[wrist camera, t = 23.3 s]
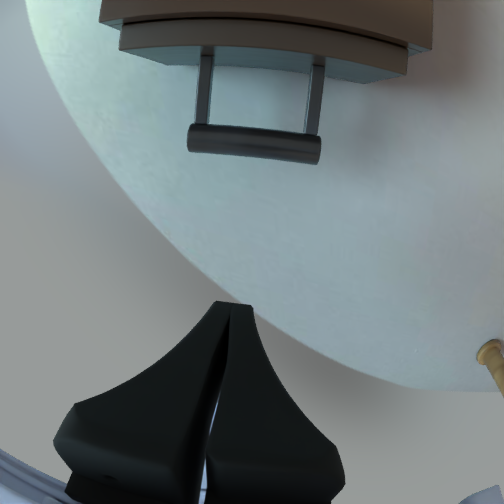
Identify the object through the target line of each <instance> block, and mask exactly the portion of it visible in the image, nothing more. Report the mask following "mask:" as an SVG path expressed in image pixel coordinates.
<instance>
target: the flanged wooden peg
mask: <svg viewBox="0 0 504 504" xmlns="http://www.w3.org/2000/svg"><path fill="white" fill-rule="evenodd" d="M500 351H501V344H500V343H499V341H498V340H491V341H489V342H487V343H486V344H485V345H483V346H482V347H481V349H480V350H479V352H478V354H477V360H478V362H479V364H481V365H486V366H487V368H488V370H489V372H490V373H491V375H492V377H493V379H494V380H495V382H496V384H497V386H498V388H499V389H500V391H501V393H502V395H503V397H504V357H503V356H502V354H501V353H500Z"/></svg>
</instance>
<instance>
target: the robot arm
mask: <svg viewBox="0 0 504 504" xmlns="http://www.w3.org/2000/svg"><path fill="white" fill-rule="evenodd" d="M219 394H220V395H219ZM218 398H219V400H218ZM217 402H218V403H217ZM53 443H54V447H55V449H56V451H57V452H58V454H59V455H60V457H61V458H62V459H63V460H64V461H65V463H66V464H67V465H68V467H69V468H70V469H71V470H72V471H73V472H72V474H71V476H70V479H69V481H68V483H67V484H66V483H64V482H61V481H60V480H57V479H55V478H53V477H51V476H49V475H47V474H45V473H43V472H41V471H39V470H36V469H35V468H33V467H31V466H29V465H27V464H25V463H24V462H22V461H20V460H18V459H16V458H15V457H13V456H11V455H9V454H8V453H6V452H4V451H3V450H1V449H0V504H331V500H332V499H333V498H334V497H335V496H336V495H337V494H338V493H339V492H340V491H341V490H342V489H343V487H344V485H345V474H344V469H343V466H342V462H341V459H340V455H339V453H338V450H337V448H336V446H335V445H334V444H333V443H332V442H331V441H329V440H328V439H327V438H326V437H325V436H324V435H323V434H322V433H321V432H320V431H319V430H318V429H317V428H316V427H315V426H314V425H313V423H312V422H311V421H310V420H309V419H308V418H307V417H306V416H305V415H304V413H303V412H302V411H301V410H300V408H299V407H298V406H297V405H296V403H295V402H294V401H293V399H292V398H291V397H290V395H289V394H288V392H287V391H286V389H285V388H284V386H283V385H282V383H281V381H280V380H279V378H278V376H277V375H276V373H275V371H274V369H273V367H272V365H271V363H270V361H269V359H268V357H267V355H266V353H265V350H264V348H263V345H262V342H261V340H260V337H259V334H258V331H257V327H256V323H255V319H254V312H253V307H252V306H251V305H246V304H238V303H229V302H221V301H216V302H214V303H213V304H212V306H211V307H210V309H209V310H208V311H207V312H206V314H205V315H204V316H203V318H202V319H201V320H200V321H199V322H198V323H197V325H196V326H195V327H194V328H193V329H192V330H191V331H190V332H189V333H188V334H187V335H186V337H184V338H183V339H182V340H181V341H180V342H179V343H178V344H177V345H176V346H175V347H174V348H173V349H172V350H170V351H169V352H168V353H167V354H166V355H165V356H164V357H162V358H161V359H160V360H158V361H157V362H156V363H155V364H153V365H152V366H150V367H149V368H147V369H146V370H144V371H143V372H141V373H140V374H138V375H137V376H135V377H133V378H132V379H130V380H128V381H126V382H125V383H122V384H121V385H119V386H117V387H115V388H113V389H111V390H109V391H107V392H105V393H102V394H100V395H97V396H95V397H92V398H89V399H87V400H84V401H81V402H78V403H75V404H74V406H73V407H72V408H71V410H70V411H69V412H68V414H67V416H66V417H65V419H64V420H63V422H62V424H61V426H60V428H59V430H58V432H57V434H56V436H55V438H54V440H53ZM459 504H504V500H503V497H502V494H501V491H500V487H499V485H495V486H493V487H490V488H487V489H485V490H482V491H479V492H477V493H474V494H472V495H471V496H468V497H467V498H466V499H464V500H462V501H461V502H460V503H459Z"/></svg>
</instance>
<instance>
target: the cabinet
mask: <svg viewBox="0 0 504 504" xmlns="http://www.w3.org/2000/svg"><path fill="white" fill-rule="evenodd" d="M183 17H242V18H259V19H271V20H281V21H290V22H298V23H305V24H312V25H318V26H324V27H330V28H335V29H340V30H345V31H349V32H354V33H358V34H363V35H366V36H365V37H368V38H372V39H376V40H379V41H383V42H387V43H390V44H394V45H397V46H400V47H404V48H407V49H408V57H409V56H412V55H416V54H419V53H422V52H426V51H429V50H431V49H432V32H433V0H102V4H101V9H100V16H99V23H102V24H105V25H107V26H110V27H112V28H115V29H117V30H120V31H121V26H122V25H125V24H133V23H141V22H150V21H162V20H173V19H172V18H183Z"/></svg>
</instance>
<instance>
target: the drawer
mask: <svg viewBox="0 0 504 504" xmlns="http://www.w3.org/2000/svg"><path fill="white" fill-rule="evenodd" d="M172 19H173V20H162V21H150V22H141V23H133V24H125V25H122V26H121V32H120V40H119V50H120V51H123V52H127V53H130V54H133V55H137V56H140V57H143V58H146V59H150V60H153V61H156V62H159V63H162V64H165V65H199V71H198V82H197V93H196V105H195V119H194V123H192V124H191V125H190V127H189V129H188V134H187V148H188V151H189V152H195V153H210V154H223V155H234V156H245V157H255V158H265V159H273V160H282V161H290V162H297V163H305V164H312V165H317V164H318V162H319V158H320V153H321V137H320V136H318V135H317V133H318V126H319V118H320V110H321V101H322V93H323V84H324V76H325V77H331V78H337V79H342V80H347V81H352V82H356V83H361V84H366V83H371V82H375V81H380V80H384V79H389V78H394V77H399V76H404V75H406V72H407V61H408V49H407V48H404V47H400V46H397V45H394V44H390V43H387V42H383V41H379V40H376V39H372V38H368V37H365V36H366V35H363V34H358V33H354V32H349V31H345V30H340V29H335V28H330V27H324V26H318V25H312V24H305V23H298V22H290V21H281V20H271V19H259V18H242V17H183V18H172ZM214 65H220V66H240V67H254V68H266V69H276V70H284V71H292V72H300V73H307V74H310V79H309V88H308V97H307V106H306V114H305V122H304V130H303V132H304V133H305V134H304V133H297V132H290V131H282V130H273V129H264V128H254V127H243V126H231V125H216V124H208V123H209V116H210V104H211V92H212V81H213V71H214Z"/></svg>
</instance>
